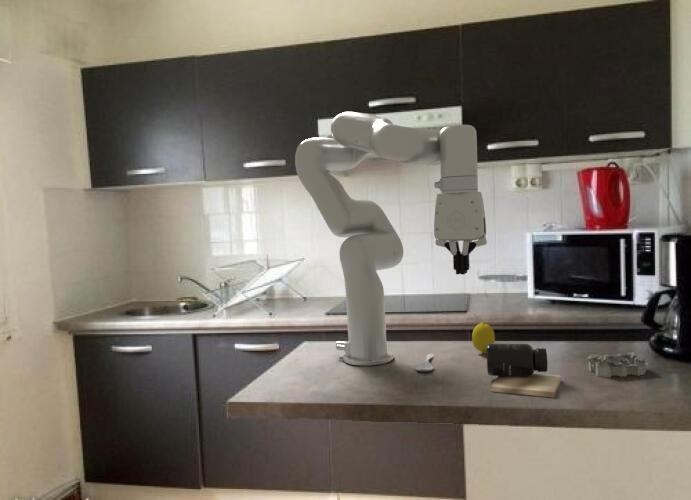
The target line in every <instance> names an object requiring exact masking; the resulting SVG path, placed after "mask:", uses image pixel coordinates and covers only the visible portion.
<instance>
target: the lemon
mask: <svg viewBox="0 0 691 500" xmlns="http://www.w3.org/2000/svg"><path fill="white" fill-rule="evenodd" d="M471 339H472V344H473V346H474V348H475V349H476V350H478V351H479V352H481V353H482V354H483V355H484V354H487V344H489V343H495V341H496V340H495V339H496V337H495V331H494V329H493V327H492V326H490V325H489V324H488V323H485V321H481V322H480V323H479V324H476V326H475V327H474V328H473V330H472V334H471Z"/></svg>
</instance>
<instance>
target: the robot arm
mask: <svg viewBox="0 0 691 500" xmlns="http://www.w3.org/2000/svg"><path fill="white" fill-rule="evenodd" d="M330 133H331V135H332V137H333V138H331V137H311V138H308V139H305V140H303V141H301V142H300V143H299V144H298V146H297V148H296V151H295V156H294V163H295V164H294V165H295V170H296V175H297V177H298V180H300V182H301V184H302V186H303V187H304V188H305V190H306V192H307V193H308V194H309V196H310V197H311V198H312V200H313V202H314V203H315V205H316V207H317V210H318V211H319V212H320V214H321V216H322V218H323V220H324V221H325V224H326V225H327V226H328V228H329V230H330V231H331V233H332V234H333V235H335V237H338V238H346V239H344V241H342V243H341V245H340V248H339V253H338V254H339V261H340V264H341V269H342V272H343V273H342V274H343V277H344V288H345V300H346V301H345V302H346V316H347V317H346V319H347V337H348V340H347V341H342V340H341V341H340V340H338V341H336V344H335V348H336V349H335V350H337V351H344V352H345V354H344V355H343V357H342V358H343V361H344V363H346V364H349V365H353V366H360V367H361V366H363V367H364V366H378V365H384V364H387V363H389V362H391V361H393V359H394V353H393V352H392V351H391V350H388V347H387V326H386V308H385V307H386V306H385V292H384V285H383V282H382V281H381V280H382V279H381V278H380V277H379V274H378V272H377V271H382V270H387V269H391V268H394V267H397V266H398V265H399V264H400V263H401V262H402V260H403V258H404V246H403V243H402V240H401V238H400V237H399V235H398V233H397V231H396V230H395V228H394V226H393V225H392V223H391V221H390V219H389V218H388V216H387V215H386V213H385V212H384V210H383V209H382V207H381V206H380V205H378V204H377V203H376V202H374V201H372V200H369V199H354V198H352V197H350V196H349V194H348V192H347V190H346V189H345V187H344V186H343V184H342V183H341V182H340V181H339V179H337V178H336V177H335V176H333V175H332V174H331V173H330V172H329V171H331V172H332V171H333V172H334V171H339V172H340V171H341V172H342V171H349V170H352V169H355V167H357V166H358V165H359V164H360V163H362V162H363V161H364V160H365V159H366V158H367V157H368V156H370V155H371V154H374V155H376V156H377V157H380V158H382V159H386V160H389V161H393V162H397V163H401V164H407V165H425V166H427V165H428V166H431V165H432V166H436V165H437V166H439V165H440V178H439V180H438V181H434V185H433V186H434V189H439V191H440V193H437V194H436V198H435V199H436V200H435V207H434V218H433V219H434V221H433V222H434V223H433V233H434V238H435V242H434V243H435V245H436V246H438V247H442V248H446V250H448V251H449V253H450V254H451V255H452V257H453V258H452V259H453V260H452V262H453V263H452V264H453V267H452V269H453V270H454V271H455V275H465V274H467V273H468V271H469V270H470V255H471V254H472V252H473V251H474V250H475V248H478V247H482V246H486V245H487V243H488V240H487V237H486V234H487V223H486V212H485V205H484V199H483V195H482V192H481V191H479V190H478V189H479V182H478V140H477V139H478V137H477V130H476V128H475V127H474V126H473V125H470V124H454V125H448V126H445V127H443V128H442V129H441V130H439V129H429V128H420V127H419V128H418V127H409V126H403V125H397V124H394V123H393V122H392V121H391V119H388V118H387V117H380V116H377V115H375V114H373V113H365V112H355V111H344V112H342V113H339V114H337V115H336V116H335V117H334V118H333V120H332V121H331V123H330ZM461 241H463V242H462V249H460V243H459V242H461Z"/></svg>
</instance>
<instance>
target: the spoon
mask: <svg viewBox="0 0 691 500" xmlns="http://www.w3.org/2000/svg"><path fill="white" fill-rule="evenodd" d="M434 357H435V354H433V353H429V354H427V355H426V357H425V358H426V359H425V360H423V361H422V362H421V363H419V364H418V365H417V366H416V367H415V370H416V371H417V372H418V371H419V372H422V373H427V372H431V371H433V370H434V369H435V368H434V366H433V364H432V363H430V360H431V359H433V358H434Z"/></svg>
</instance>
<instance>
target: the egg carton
mask: <svg viewBox="0 0 691 500" xmlns="http://www.w3.org/2000/svg"><path fill="white" fill-rule="evenodd" d="M586 360H588V370H589V372H591V373H592V372H593V373H595V376H597V377H602V378H603V377H604V378H611V377H613V376H619V377H623V376H624V377H627V376H629V375H630V376H632V375H633V376H637V375H638V376H639V377H641V376H640V375H643V376H644V375H645V373H646V368H647V365H649V362H646V361H645V359H644V358H642V357H640V356H639V355H638V354H636V353H635V352H634V351H629V352H625V353H618V354H616V353H611V354H601V355H600V354H596V353H594V354H590V355H589V356H587V357H586ZM631 374H632V375H631ZM646 374H647V373H646ZM638 376H637V377H638ZM624 377H623V378H624Z"/></svg>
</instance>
